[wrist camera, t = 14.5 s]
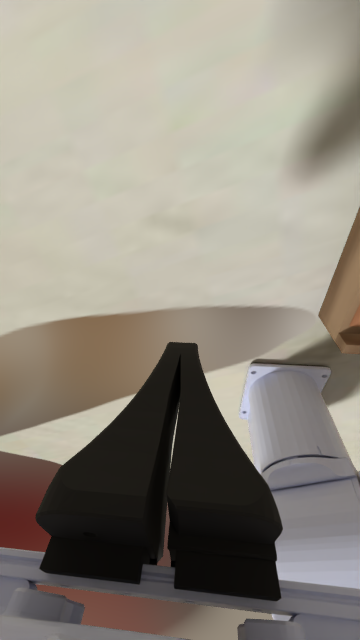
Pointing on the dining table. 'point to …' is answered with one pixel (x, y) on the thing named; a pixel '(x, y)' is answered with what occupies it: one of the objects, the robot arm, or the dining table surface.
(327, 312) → the case
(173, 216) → the dining table surface
